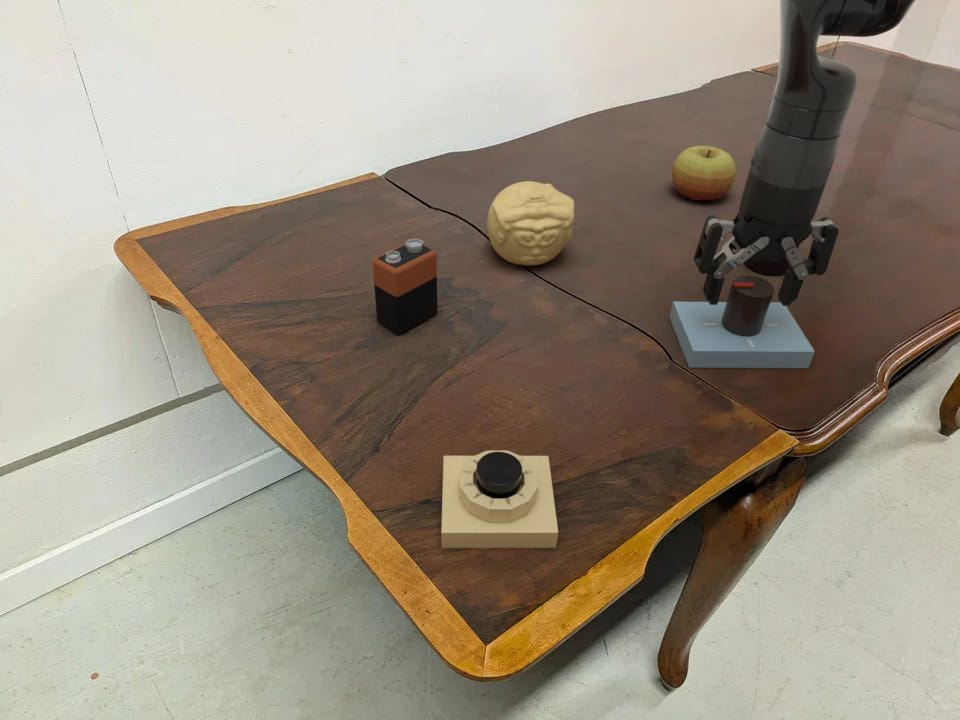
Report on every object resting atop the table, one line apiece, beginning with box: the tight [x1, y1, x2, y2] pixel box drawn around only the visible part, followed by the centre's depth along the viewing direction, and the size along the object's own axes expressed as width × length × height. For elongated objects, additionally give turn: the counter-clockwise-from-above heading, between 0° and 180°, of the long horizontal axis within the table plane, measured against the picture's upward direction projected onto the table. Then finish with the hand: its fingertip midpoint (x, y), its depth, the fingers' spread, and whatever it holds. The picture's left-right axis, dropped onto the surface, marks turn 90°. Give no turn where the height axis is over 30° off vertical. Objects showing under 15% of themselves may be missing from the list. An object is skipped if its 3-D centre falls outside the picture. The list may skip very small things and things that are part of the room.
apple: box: [671, 145, 737, 201], centre depth 115 cm, size 10×10×8 cm
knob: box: [721, 275, 775, 336], centre depth 83 cm, size 5×5×6 cm
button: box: [476, 452, 522, 498], centre depth 62 cm, size 4×4×2 cm
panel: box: [669, 301, 816, 369], centre depth 85 cm, size 14×10×3 cm
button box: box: [440, 449, 559, 549], centre depth 64 cm, size 10×9×4 cm
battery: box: [371, 238, 438, 335], centre depth 85 cm, size 4×7×10 cm, turn 137°
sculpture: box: [486, 180, 575, 267], centre depth 98 cm, size 12×12×11 cm
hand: (747, 301), depth 82 cm, fingers open, 8 cm apart
